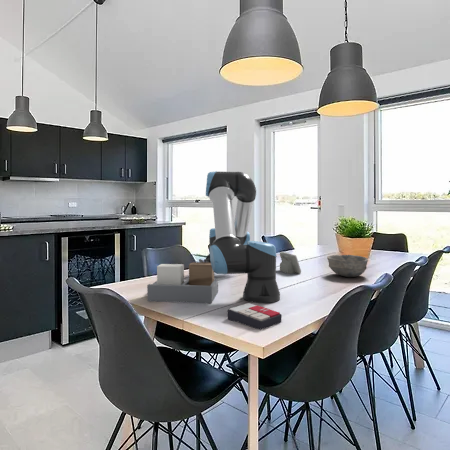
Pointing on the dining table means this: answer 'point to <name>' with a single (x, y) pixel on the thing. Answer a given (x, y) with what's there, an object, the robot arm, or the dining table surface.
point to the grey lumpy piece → (289, 263)
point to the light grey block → (170, 274)
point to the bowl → (347, 265)
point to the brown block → (201, 274)
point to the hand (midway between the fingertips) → (205, 267)
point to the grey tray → (182, 292)
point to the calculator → (254, 316)
